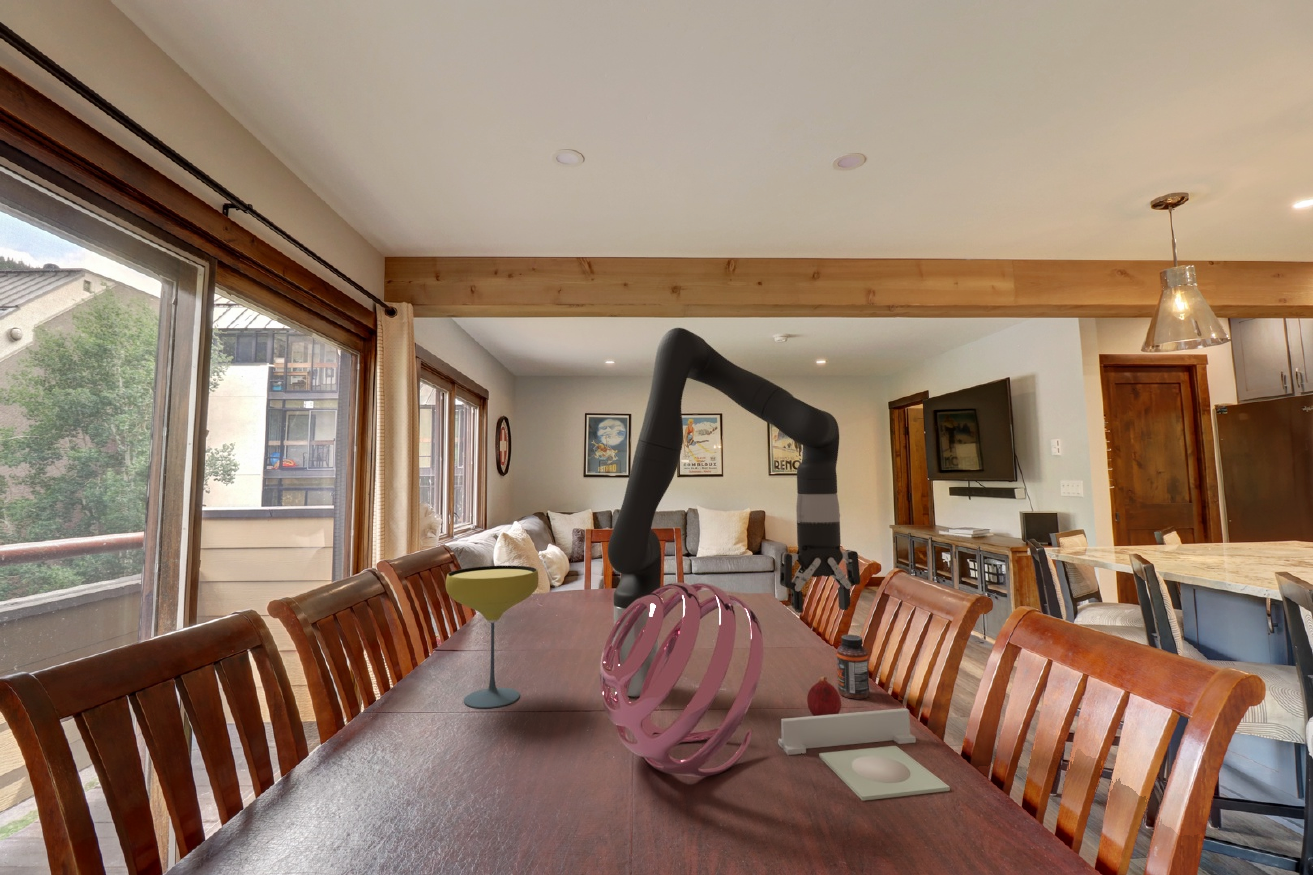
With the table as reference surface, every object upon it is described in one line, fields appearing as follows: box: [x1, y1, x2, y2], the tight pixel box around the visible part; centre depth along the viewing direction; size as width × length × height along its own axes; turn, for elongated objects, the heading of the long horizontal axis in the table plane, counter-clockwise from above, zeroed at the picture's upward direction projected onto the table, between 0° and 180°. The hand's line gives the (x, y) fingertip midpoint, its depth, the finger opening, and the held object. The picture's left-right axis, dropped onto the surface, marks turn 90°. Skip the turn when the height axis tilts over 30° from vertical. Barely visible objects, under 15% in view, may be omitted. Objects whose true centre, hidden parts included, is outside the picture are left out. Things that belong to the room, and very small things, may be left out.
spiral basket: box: [599, 582, 764, 778], centre depth 93 cm, size 28×28×27 cm
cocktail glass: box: [445, 565, 539, 710], centre depth 119 cm, size 18×18×25 cm
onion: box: [806, 675, 842, 716], centre depth 105 cm, size 6×6×8 cm
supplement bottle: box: [836, 634, 870, 700], centre depth 119 cm, size 6×6×11 cm
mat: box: [818, 745, 951, 802], centre depth 87 cm, size 13×13×1 cm
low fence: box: [777, 707, 917, 756], centre depth 97 cm, size 22×4×4 cm, turn 100°
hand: (821, 610), depth 106 cm, fingers open, 8 cm apart
